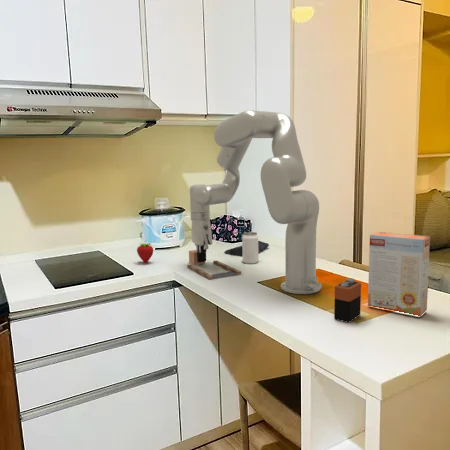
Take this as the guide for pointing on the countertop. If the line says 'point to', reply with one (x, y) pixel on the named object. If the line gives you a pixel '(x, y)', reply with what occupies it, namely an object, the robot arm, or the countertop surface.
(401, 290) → the cracker box
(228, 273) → the channel
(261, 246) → the dark slate chunk
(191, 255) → the block
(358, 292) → the battery
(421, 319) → the countertop surface
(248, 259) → the can
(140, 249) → the strawberry
